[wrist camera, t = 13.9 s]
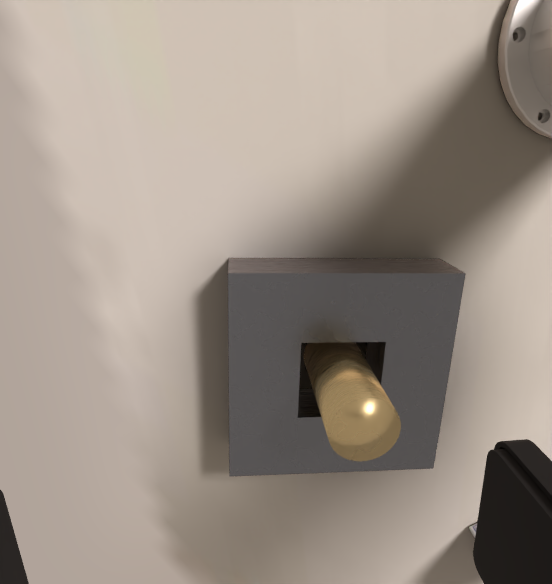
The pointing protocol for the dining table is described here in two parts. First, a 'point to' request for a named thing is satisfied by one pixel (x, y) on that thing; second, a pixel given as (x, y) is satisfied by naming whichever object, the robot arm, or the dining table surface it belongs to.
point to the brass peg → (351, 401)
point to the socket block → (328, 329)
